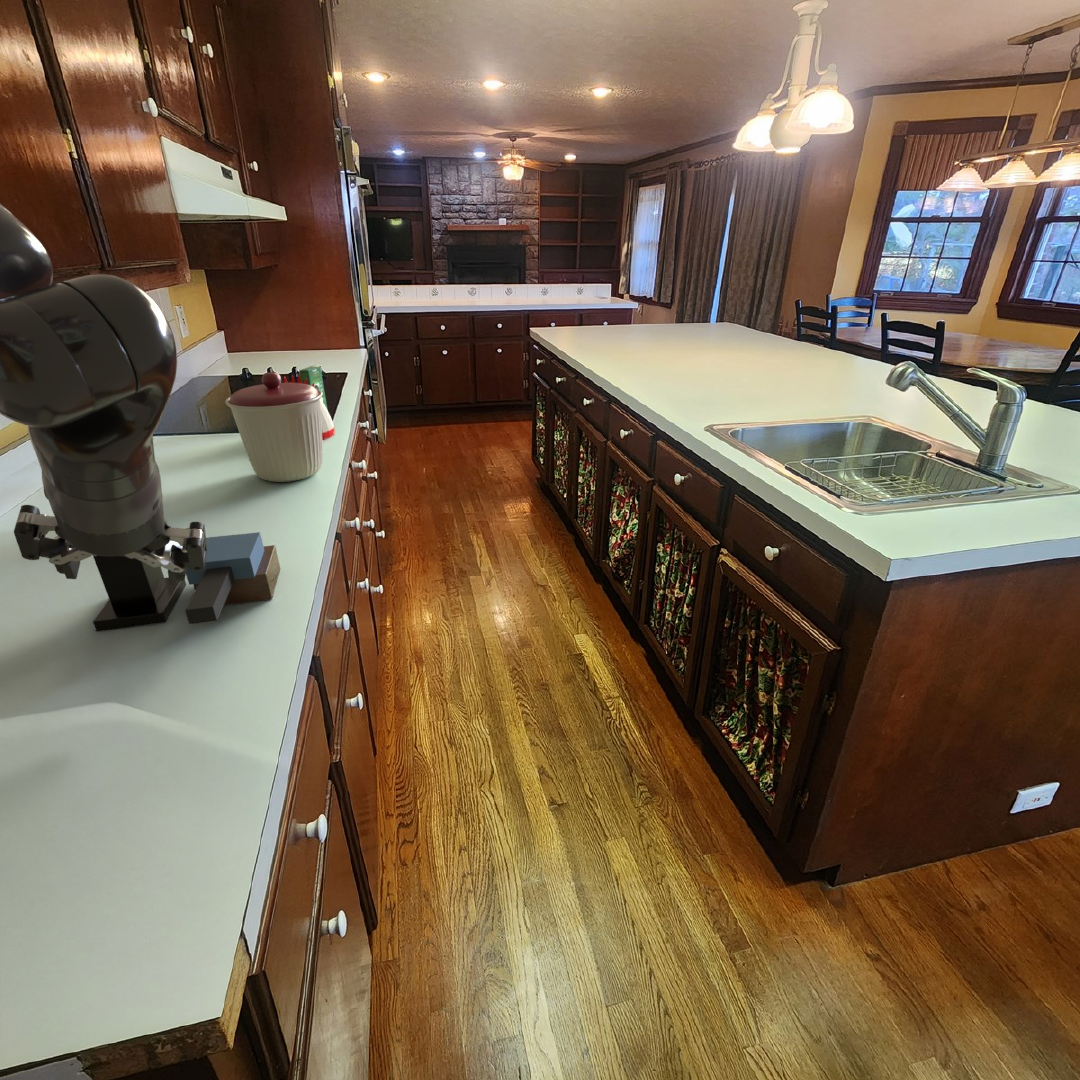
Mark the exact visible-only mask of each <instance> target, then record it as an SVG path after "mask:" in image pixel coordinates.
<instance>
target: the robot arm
mask: <svg viewBox="0 0 1080 1080" xmlns="http://www.w3.org/2000/svg"><path fill="white" fill-rule="evenodd" d="M53 278H54V268H53V263H52V260H51V256H50V255H49V253H48V251H47V250H46V248H45V245H43V243H42V242H41V241H40V240H39V239H38V237H36V235H35V234H34V233H33V232H32V231H31V230H30V229H29V228H28V227H27V226H26V225H25V224H24V223H23V222H22V221H20V220H19V219H18V218H17V217H16V216H15V215H14V214H12V212H10V211H9V210H8V209H7V208H6V207H5V206H4V205H3V204H2V203H0V415H1V416H3V417H5V418H6V419H8V420H11V421H13V422H15V423H18V424H21V425H25V426H27V433H28V436H29V439H30V442H31V445H32V448H33V451H34V452H35V455H36V458H37V461H38V464H39V467H40V470H41V481H42V485H43V493H44V496H45V499H46V500H48V503H49V505H50V507H51V511H52V513H53V515H47V514H45V513H41V511H40V508H39V507H37V506H36V505H31V504H22V505H21V506H20V509H19V512H18V516H17V519H16V522H15V526H14V529H13V534H14V538H15V540H16V544H17V546H18V549H19V552H20V555H21V558H22V559H25V560H28V561H38V560H40V557H41V558H46V559H48V562H49V563H50V564H52V565H54V567H55V569H56V571H57V573H59V574H61V575H64V576H65V578H66V580H77V578H78V575H79V570H80V566H81V561H84V560H85V559H87V558H90V557H93V555H94V556H97V555H99V556H122V557H128V558H130V559H133V558H136V559H138V560H140V561H142V562H144V563H146V564H148V565H150V566H152V567H154V568H156V567H161V568H164V569H166V570H167V578H168V579H169V585H177V582H178V581H184V580H185V581H186V577H187V576H186V569H187V568H190V569H191V570H193V571H203V570H204V568H205V561H206V554H207V541H206V538H207V535H206V534H207V533H206V527H205V523H203V522H200V521H191V522H190V523H189V527H186V528H182V527H180V528H179V527H172V525H171V524H170V523H169V522H167V520H165V512H164V502H163V499H164V498H163V489H162V478H161V473H160V469H159V466H158V463H157V461H156V457H155V446H154V436H153V435H154V434H155V432H156V431H157V428H158V426H159V424H160V423H161V419H162V417H163V414H164V411H165V409H166V407H167V404H168V401H169V399H170V396H171V394H172V390H173V388H174V385H175V381H176V379H177V372H178V371H177V370H178V352H177V351H178V350H177V345H176V341H175V336H174V333H173V330H172V327H171V325H170V323H169V321H168V319H167V317H166V316H165V314H164V312H163V310H162V309H161V307H160V306H159V304H158V303H157V302H156V301H155V300H154V299H153V298H152V297H151V296H150V295H149V294H148V293H147V292H146V291H145V290H143V289H142V288H141V287H139V286H137V284H134V283H133V282H131V281H129V280H127V279H126V278H123V277H119V276H116V275H113V274H105V273H95V274H87V275H83V276H77V277H74V278H71V279H67V280H64V281H61V282H57V283H53ZM52 283H53V284H52ZM49 532H55V534H56V536H54V538H50V537H46V536H47V535H48V534H49ZM153 551H154V552H153ZM151 552H153V553H151Z"/></svg>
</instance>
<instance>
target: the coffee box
mask: <svg viewBox="0 0 1080 1080" xmlns="http://www.w3.org/2000/svg"><path fill="white" fill-rule="evenodd" d="M298 373H299V375H300V378H301V381H302V383H303V384H304V382H305V380H306V379H307V380H308V382H307V385H310V386H312V384H313V383H314V388H315V389H318V390H320V391H322V393H323V395H322V397H321V398H320V400H321V401H322V402H323V404H324V405H325V407H326V408H327V409H328V405H327V399H326V393H325V387H324V381H323V380H324V379H323V374H322V367H321V365H311V366H308V367H305V368H302V369H299V370H298Z"/></svg>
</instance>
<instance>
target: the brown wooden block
mask: <svg viewBox="0 0 1080 1080" xmlns="http://www.w3.org/2000/svg"><path fill="white" fill-rule="evenodd" d="M263 547H264V553H263V556H262V559H261V561H260V564H259V567H258V570H257V572H256V575H255V577H253V578H244V579H236V580H234V582H233V584H232V587H231V589H230V591H229V594H228V596H227V598H226V601H225V603H224V605H223V606H229V605H230V606H231V605H238V604H246V603H255V602H261V601H262V602H263V601H270V600H273V596H274V593H275V589H276V586H277V583H278V578H279V576H280V571H281V565H280V561H279V556H278V553H277V552H278V551H277V547H276V545H275V544H273V545H263ZM192 586H193V588H194V591H195V590H196V588H197V586H198V584H192Z"/></svg>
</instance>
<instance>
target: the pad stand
mask: <svg viewBox="0 0 1080 1080" xmlns="http://www.w3.org/2000/svg"><path fill="white" fill-rule="evenodd" d="M153 552H154V551H153ZM153 552H151V553H153ZM92 557H93V560H94V562H95V565H96V568H97V570H98V573H99V576H100V579H101V581H102V584H103V587H104V589H105V592H106V594H107V597H108V600H107V602H106V603H105V604H104V605H103V607H102V608H101V610H100V611H99V612H98V614H97V615H96V617H94V619H93V621H92V624H93V626H94V629H95V632H102V630H104V631H109V630H110V631H111V630H118V629H119V630H120V629H127V628H133V627H140V626H149V625H156V624H165V623H167V621H168V619H169V618H170V615H171V614H172V612H173V610H174V608H175V606H176V604H177V603H178V601H179V599H180V597H181V595H182V593H183V591H184V590H185V588H186V586H187V581H186V579H185V580H184V581H178V582H177V585H169V579H168V577H165V575H164V572H163V570H162V566H161V567H156V568H154V567H152V566H150V565H148V564H146V563H144V562H142V561H140V560H138V559H136V558H133V559H130V558H128V557H122V556H99V555H97V556H94V555H92Z"/></svg>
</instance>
